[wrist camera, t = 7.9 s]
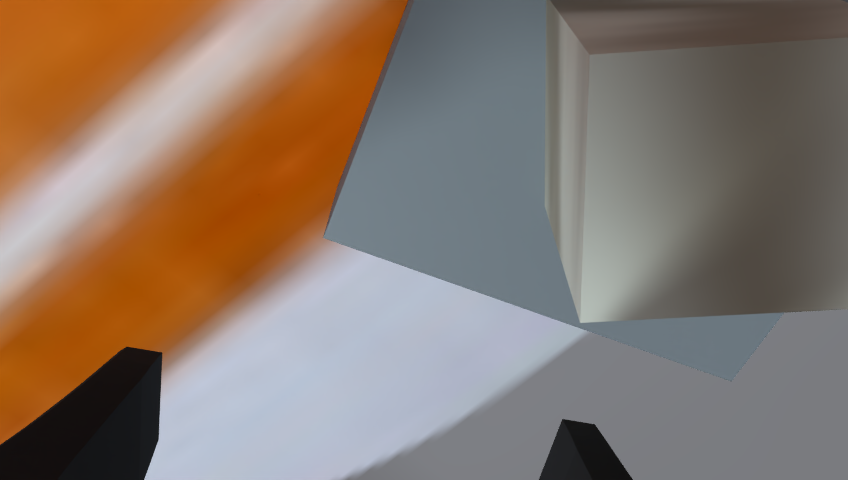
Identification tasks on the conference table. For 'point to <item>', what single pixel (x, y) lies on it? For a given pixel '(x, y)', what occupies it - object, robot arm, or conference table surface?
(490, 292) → the blue-gray box
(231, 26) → the conference table surface
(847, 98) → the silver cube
